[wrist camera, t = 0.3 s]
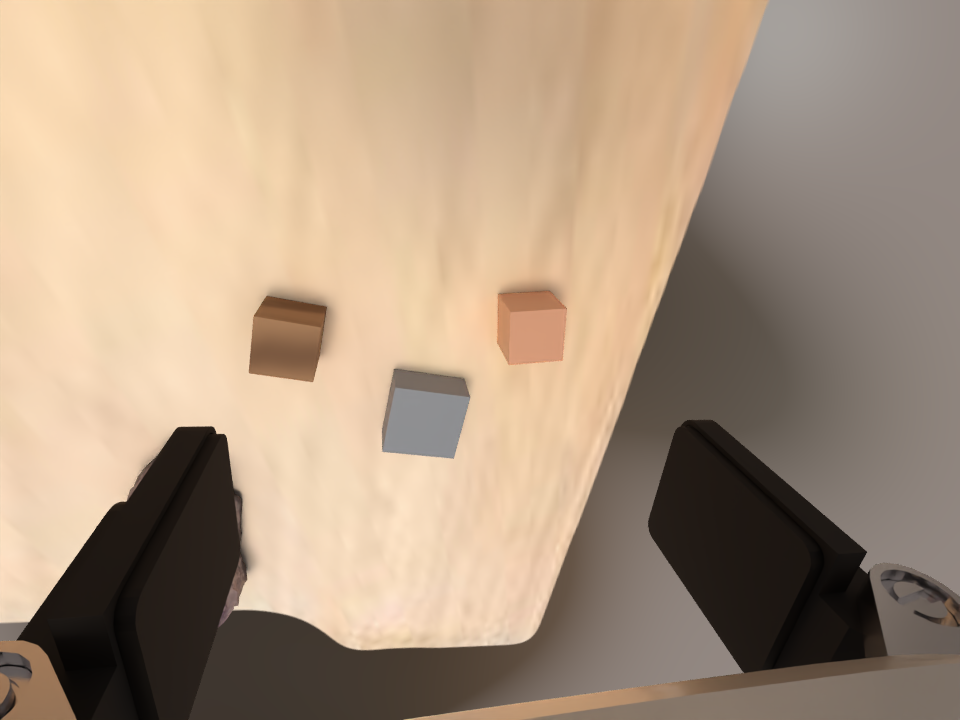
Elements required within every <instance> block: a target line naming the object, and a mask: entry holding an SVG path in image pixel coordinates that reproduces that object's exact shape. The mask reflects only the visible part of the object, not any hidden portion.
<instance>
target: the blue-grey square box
mask: <svg viewBox="0 0 960 720" xmlns="http://www.w3.org/2000/svg"><path fill="white" fill-rule="evenodd" d="M469 400H470V395H469V392H468V389H467V386H466V383H465V380H464V379H462V378H455V377H448V376H441V375H434V374H427V373H420V372H412V371H405V370H398V369H394V372H393V377H392V383H391V388H390V393H389V398H388V403H387V408H386V413H385V418H384V423H383V428H382V452H390V453H401V454H411V455H422V456H432V457H443V458H453V459H454V456H455V452H456V448H457V444H458V441H459V437H460V433H461V430H462V426H463V422H464V419H465V415H466V411H467V407H468V404H469Z"/></svg>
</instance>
